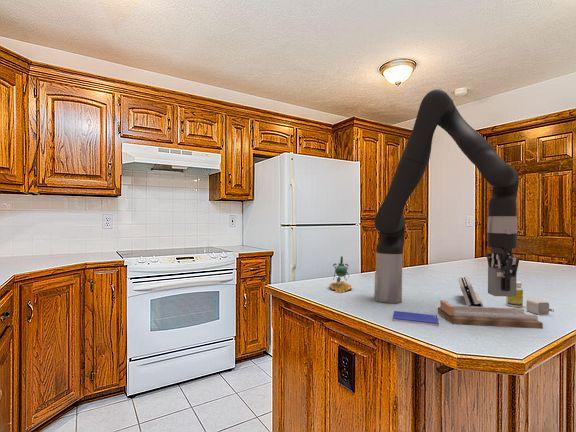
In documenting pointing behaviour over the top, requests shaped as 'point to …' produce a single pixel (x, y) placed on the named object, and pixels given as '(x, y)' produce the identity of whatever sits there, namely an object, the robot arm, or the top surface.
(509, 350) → the top surface
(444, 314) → the rail board
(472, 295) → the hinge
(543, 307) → the usb wall charger
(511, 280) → the block
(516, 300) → the supplement bottle
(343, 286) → the frog figurine
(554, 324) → the top surface
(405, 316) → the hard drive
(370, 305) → the top surface
